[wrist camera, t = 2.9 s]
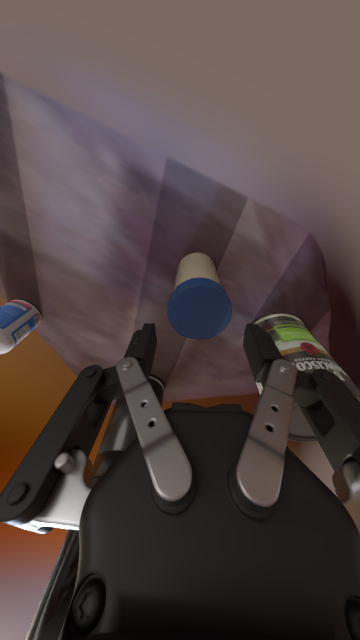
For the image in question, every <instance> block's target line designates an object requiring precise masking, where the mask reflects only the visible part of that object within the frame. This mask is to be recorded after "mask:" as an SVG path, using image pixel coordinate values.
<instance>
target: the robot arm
mask: <svg viewBox="0 0 360 640" xmlns="http://www.w3.org/2000/svg"><path fill="white" fill-rule="evenodd" d="M156 345H157V338H156V331H155V324H144V326H143V329H142V330H137V331H136V332H135V333H134V334H133V336H132V339H131V341H130V344H129V346H128V349H127V351H126V354H125V356H124V358H123V359H122V360H120V361H119V362H118V363H117V365H116V366H114V367H111V368H107V369H103V370H102V368H101V367H100V366H98V365H92V366H89V367H87V368H85V369H84V370H83V371H82V372H81V373H80V374H79V376H78V377H77V379H76V380H75V382H74V383H73V385H72V386H71V388H70V389H69V391H68V392H67V394H66V395H65V397H64V398H63V400H62V402H61V403H60V405H59V406H58V407H57V409H56V410H55V412H54V414H53V415H52V417H51V418H50V420H49V421H48V423H47V424H46V426H45V427H44V429H43V430H42V432H41V433H40V435H39V436H38V438H37V439H36V441H35V442H34V444H33V446H32V447H31V448H30V450H29V452H28V453H27V454H26V456H25V457H24V459H23V461H22V462H21V464H20V465H19V467H18V468H17V470H16V471H15V473H14V474H13V476H12V477H11V479H10V480H9V482H8V483H7V485H6V486H5V488H4V489H3V491H2V492H1V494H0V522H4V523H7V524H10V525H13V526H16V527H20V528H23V529H26V530H29V531H32V532H36V533H39V534H44V533H47V532H49V531H51V530H52V529H54V528H55V527H57V528H65V529H69V530H68V532H67V535H66V538H65V540H64V543H63V545H62V548H61V551H60V553H59V556H58V558H57V561H56V563H55V566H54V568H53V571H52V573H51V576H50V578H49V581H48V583H47V585H46V588H45V590H44V593H43V595H42V598H41V600H40V603H39V605H38V608H37V610H36V613H35V615H34V618H33V620H32V622H31V625H30V627H29V631H28V633H27V635H26V638H25V640H360V402H359V401H358V399H357V398H356V397H355V396H354V395H353V394H352V392H351V391H350V390H349V389H348V388H347V387H346V385H345V384H344V383H343V382H342V381H341V379H340V378H339V377H338V376H337V375H335V374H334V373H332V372H331V371H328V370H325V369H315V370H314V371H313V373H308V372H304V371H300V370H297V368H296V367H295V366H294V365H293V364H292V363H291V362H289V361H286V360H284V358H283V357H282V355H281V353H280V351H279V349H278V348H277V346H276V345H275V342H274V341H273V339H272V337H271V335H270V334H269V333H268V332H266V331H265V330H261V329H260V327H259V325H258V324H247V325H246V328H245V333H244V338H243V347H244V350H245V353H246V356H247V359H248V362H249V365H250V368H251V371H252V373H253V376H254V379H255V382H256V383H262V386H263V389H262V392H261V395H260V398H259V401H258V404H257V406H256V410H255V412H254V415H252V414H250V413H248V412H246V411H243V410H242V409H241V405H238V404H221V405H217V406H213V407H209V408H205V407H201V406H198V405H194V404H191V403H173V404H172V408H169V409H166V410H164V411H163V410H162V402H163V395H164V391H165V386H164V383H163V382H162V381H161V380H160V379H159V378H158V377H156V376H154V375H152V374H150V372H151V368H152V364H153V359H154V355H155V350H156ZM115 399H117V400H116V403H115V406H114V409H113V412H112V414H111V417H110V420H109V423H108V425H107V428H106V431H105V434H104V436H103V439H102V442H101V445H100V448H99V450H98V453H97V456H96V459H95V462H94V464H93V466H92V462H91V461H90V459H89V458H88V457H89V455H90V452H91V450H92V448H93V445H94V443H95V440H96V438H97V436H98V433H99V431H100V428H101V426H102V424H103V421H104V419H105V417H106V414H107V412H108V410H109V407H110V405H111V402H112V400H115ZM294 404H296V405H299V407H300V409H301V411H302V413H303V415H304V416H305V418H306V420H307V422H308V424H309V426H310V427H311V429H312V431H313V433H314V435H315V437H316V438H317V440H318V442H319V444H320V446H321V447H322V449H323V451H324V453H325V455H326V457H327V458H328V460H329V462H330V464H331V466H332V467H333V469H334V471H335V472H334V474H333V477H332V479H333V484H334V487H335V492H336V494H337V496H336V495H335V494H334V493H333V492H332V491H331V490H330V489H329V488H328V487H327V486H326V485H325V484H324V483H323V482H322V481H321V480H320V479H319V478H318V477H317V476H316V475H315V474H314V473H313V472H312V471H311V470H309V468H307V466H306V465H305V464H304V463H303V462H302V461H301V460H300V459H299V458H298V457H297V456H295V454H294V453H293V452H292V451H291V450H290V449H289V448H288V447H287V446H286V443H287V438H288V433H289V427H290V422H291V416H292V411H293V406H294Z"/></svg>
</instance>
